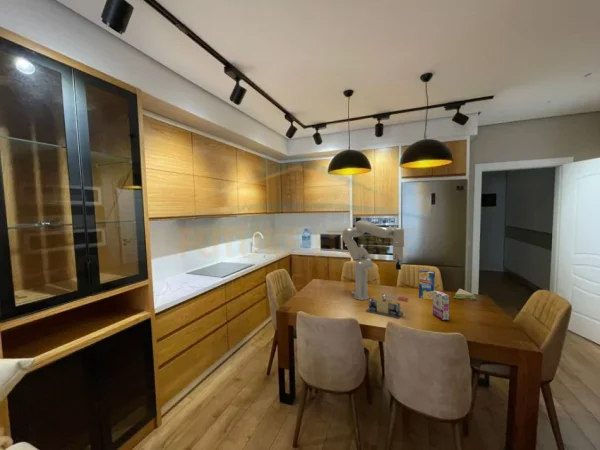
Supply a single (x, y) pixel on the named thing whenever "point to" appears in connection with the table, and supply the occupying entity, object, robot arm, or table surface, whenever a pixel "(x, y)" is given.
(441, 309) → the candy bar box
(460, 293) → the sandwich
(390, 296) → the valve lever
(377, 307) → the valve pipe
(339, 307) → the table surface
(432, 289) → the blue cereal box
